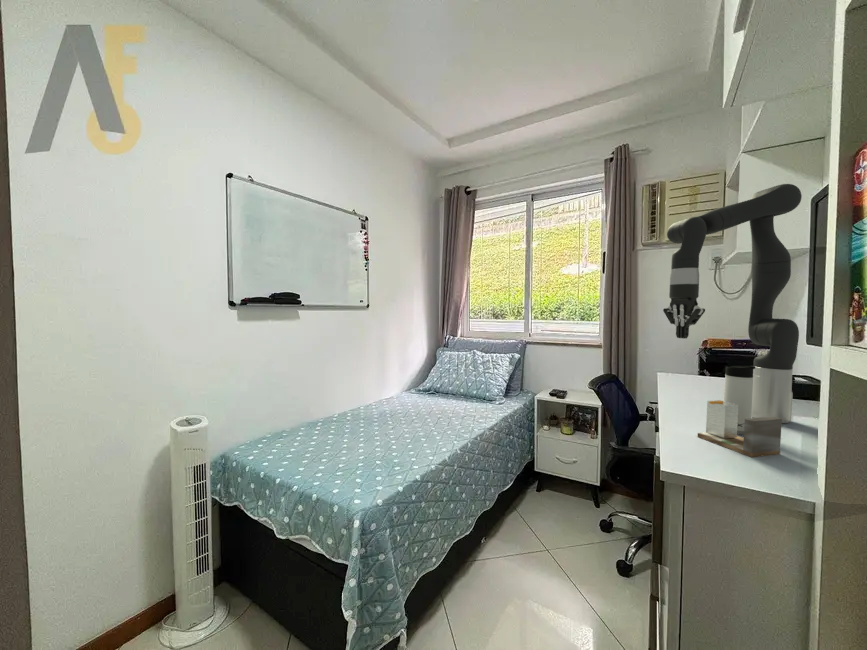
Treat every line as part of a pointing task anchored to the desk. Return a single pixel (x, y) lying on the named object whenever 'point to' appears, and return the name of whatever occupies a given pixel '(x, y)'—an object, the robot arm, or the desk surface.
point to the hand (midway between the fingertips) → (681, 338)
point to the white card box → (722, 419)
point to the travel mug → (740, 392)
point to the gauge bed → (753, 437)
